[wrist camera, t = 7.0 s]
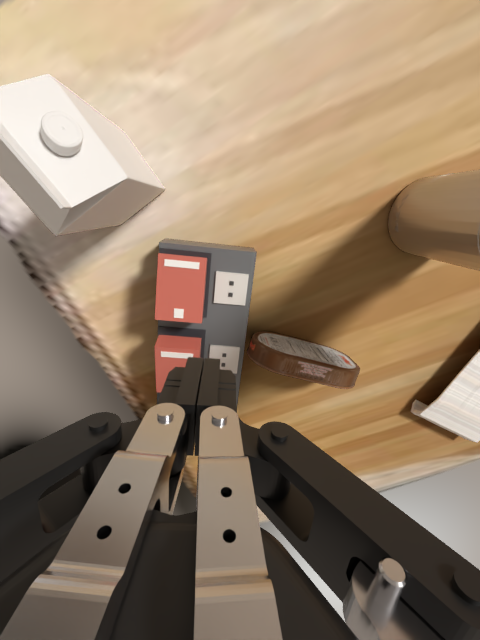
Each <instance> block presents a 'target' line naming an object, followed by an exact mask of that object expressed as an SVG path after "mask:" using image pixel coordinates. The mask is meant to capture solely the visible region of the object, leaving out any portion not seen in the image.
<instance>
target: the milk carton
mask: <svg viewBox="0 0 480 640" xmlns="http://www.w3.org/2000/svg"><path fill="white" fill-rule="evenodd" d="M0 176H1V177H2V178H3V179H4V180H5V181H6V182H7V184H8V185H9V186H10V187H11V188H12V189H13V190H14V191H15V192H16V193H17V195H18V196H19V197H20V198H21V199H22V200H23V201H24V202H25V203H26V205H27V206H28V207H29V208H30V209H31V210H32V211H33V212H34V213H35V215H36V216H37V217H38V218H39V219H40V220H41V221H42V222H43V223H44V224H45V226H46V227H47V228H48V229H49V230H50V231H51V232H52V233H53V234H54V235H55V236H60V235H65V234H71V233H77V232H83V231H89V230H95V229H100V228H106V227H112V226H118V225H121V224H122V223H124V222H125V221H126V220H128V219H129V218H130V217H131V216H133V215H134V214H135V213H136V212H138V211H139V210H140V209H142V208H143V207H144V206H145V205H147V204H148V203H149V202H150V201H152V200H153V199H154V198H155V197H157V196H158V195H159V194H161V193H162V192H163V191H164V190H165V187H164V185H163V184H162V183H161V181H160V180H159V178H158V177H157V176H156V174H155V173H154V171H153V170H152V169H151V167H150V166H149V164H148V163H147V162H146V160H145V159H144V157H143V156H142V155H141V153H140V152H139V150H138V149H137V148H136V146H135V145H134V143H133V142H132V141H131V139H130V138H129V136H128V135H127V134H126V133H125V132H124V131H123V130H122V129H121V128H119V127H118V126H117V125H116V124H114V123H113V122H112V121H110V120H109V119H108V118H106V117H105V116H104V115H103V114H101V113H100V112H99V111H97V110H96V109H95V108H93V107H92V106H91V105H90V104H88V103H87V102H86V101H84V100H83V99H82V98H80V97H79V96H78V95H77V94H75V93H74V92H73V91H71V90H70V89H69V88H67V87H66V86H65V85H64V84H62V83H61V82H60V81H58V80H57V79H56V78H54V77H52V76H51V75H49V74H45V75H41V76H37V77H33V78H30V79H26V80H22V81H18V82H15V83H11V84H7V85H3V86H0Z"/></svg>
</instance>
